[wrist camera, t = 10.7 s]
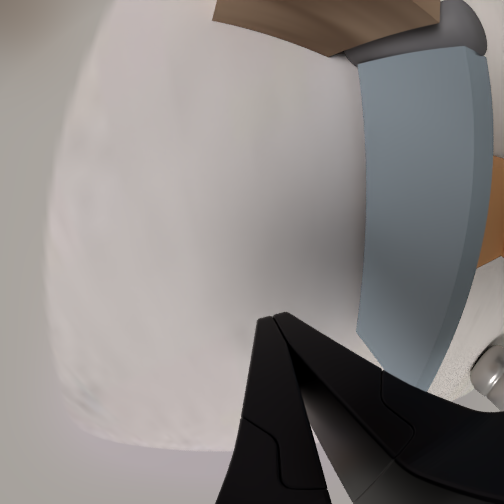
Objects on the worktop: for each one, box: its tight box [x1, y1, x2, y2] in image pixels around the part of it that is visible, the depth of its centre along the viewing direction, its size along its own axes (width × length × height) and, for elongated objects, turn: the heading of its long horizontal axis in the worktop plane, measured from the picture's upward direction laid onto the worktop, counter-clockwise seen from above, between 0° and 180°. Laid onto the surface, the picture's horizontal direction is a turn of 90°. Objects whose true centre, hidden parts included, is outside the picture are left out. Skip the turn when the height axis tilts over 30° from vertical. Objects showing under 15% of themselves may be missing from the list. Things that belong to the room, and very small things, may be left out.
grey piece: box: [344, 0, 493, 392], centre depth 9 cm, size 15×2×6 cm, turn 7°
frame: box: [212, 0, 440, 57], centre depth 8 cm, size 26×2×6 cm, turn 75°
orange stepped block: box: [477, 156, 504, 268], centre depth 10 cm, size 10×5×6 cm, turn 97°
